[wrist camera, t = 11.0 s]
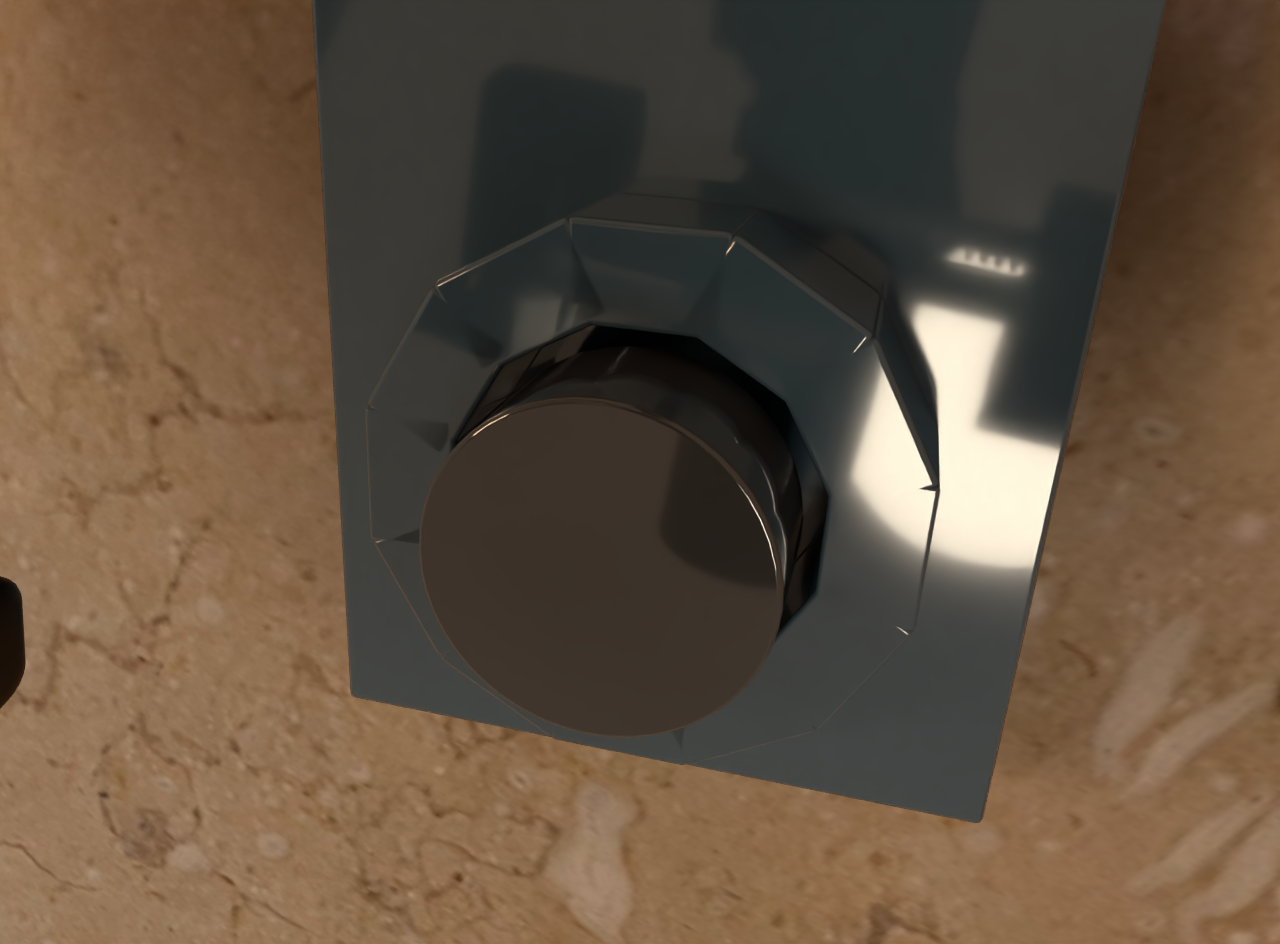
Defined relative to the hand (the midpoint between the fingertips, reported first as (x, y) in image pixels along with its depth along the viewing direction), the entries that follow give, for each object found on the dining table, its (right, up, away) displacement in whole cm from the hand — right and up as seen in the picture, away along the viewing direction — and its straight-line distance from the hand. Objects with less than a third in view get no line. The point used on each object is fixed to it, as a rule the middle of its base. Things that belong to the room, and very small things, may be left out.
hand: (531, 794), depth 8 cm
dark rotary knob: (+1, +2, +5) cm, 6 cm away
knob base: (+2, +4, +8) cm, 9 cm away
